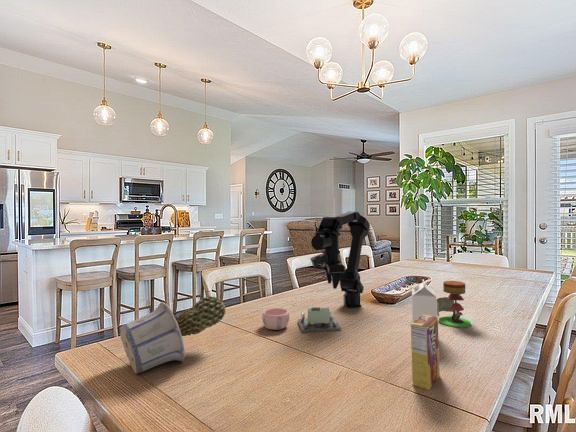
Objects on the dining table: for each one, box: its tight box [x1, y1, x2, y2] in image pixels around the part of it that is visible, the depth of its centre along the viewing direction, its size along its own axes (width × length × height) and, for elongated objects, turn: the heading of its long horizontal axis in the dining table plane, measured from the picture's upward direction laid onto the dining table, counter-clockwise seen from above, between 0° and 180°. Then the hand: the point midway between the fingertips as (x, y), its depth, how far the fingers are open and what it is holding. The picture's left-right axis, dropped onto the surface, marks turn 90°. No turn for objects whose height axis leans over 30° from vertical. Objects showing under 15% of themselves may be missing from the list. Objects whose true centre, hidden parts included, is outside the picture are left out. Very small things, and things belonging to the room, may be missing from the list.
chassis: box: [297, 310, 342, 333], centre depth 123 cm, size 14×11×4 cm
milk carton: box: [411, 279, 438, 324], centre depth 109 cm, size 7×7×19 cm
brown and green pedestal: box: [436, 280, 472, 328], centre depth 124 cm, size 12×13×15 cm
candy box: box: [410, 315, 441, 391], centre depth 83 cm, size 9×4×15 cm, turn 140°
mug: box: [261, 307, 290, 331], centre depth 123 cm, size 12×10×6 cm
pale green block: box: [307, 306, 331, 323], centre depth 123 cm, size 8×5×5 cm, turn 87°
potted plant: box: [119, 296, 227, 374], centre depth 98 cm, size 18×18×30 cm
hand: (332, 285), depth 135 cm, fingers open, 9 cm apart
